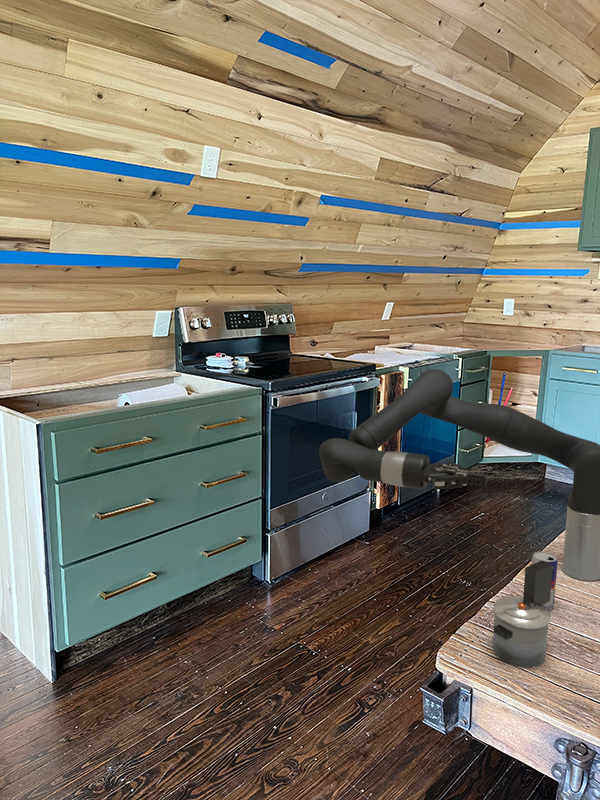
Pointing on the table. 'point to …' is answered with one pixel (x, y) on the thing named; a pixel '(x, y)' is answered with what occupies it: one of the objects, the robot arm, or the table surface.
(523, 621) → the pressure cooker lid
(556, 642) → the table surface
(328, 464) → the robot arm
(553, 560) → the energy drink
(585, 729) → the table surface
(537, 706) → the table surface
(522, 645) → the pressure cooker pot
